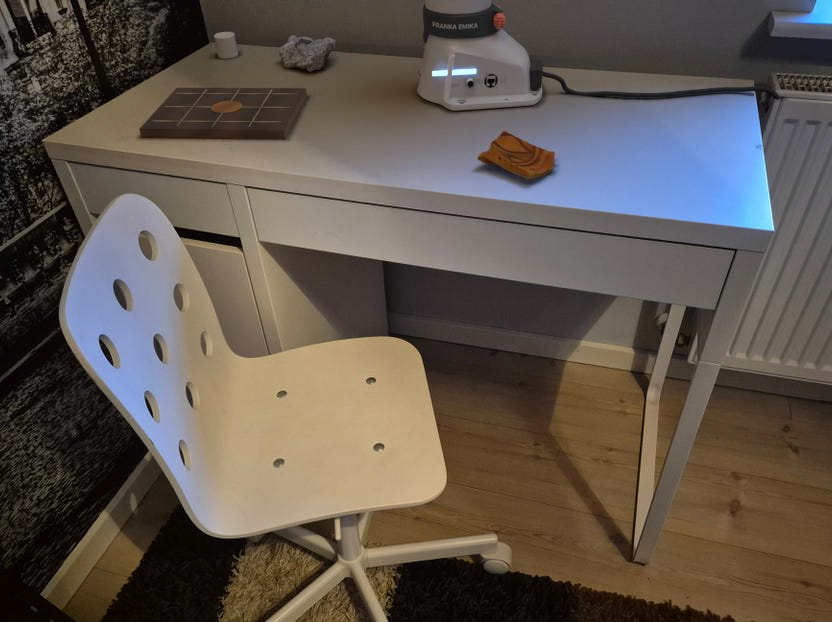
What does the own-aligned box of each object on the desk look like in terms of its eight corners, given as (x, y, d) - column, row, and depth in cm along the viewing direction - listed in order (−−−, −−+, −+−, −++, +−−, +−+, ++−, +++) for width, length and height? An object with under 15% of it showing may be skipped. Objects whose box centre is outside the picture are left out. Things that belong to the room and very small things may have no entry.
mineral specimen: (317, 79, 128) (266, 66, 132) (347, 64, 136) (298, 51, 139) (316, 47, 124) (264, 34, 128) (347, 33, 132) (297, 21, 135)
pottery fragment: (499, 128, 101) (562, 129, 97) (502, 156, 104) (564, 159, 100) (470, 156, 95) (537, 159, 90) (475, 186, 98) (539, 190, 93)
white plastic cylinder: (241, 51, 140) (237, 31, 137) (235, 58, 137) (231, 38, 134) (221, 51, 140) (217, 31, 138) (215, 58, 137) (211, 38, 134)
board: (307, 96, 121) (305, 87, 120) (285, 139, 108) (283, 129, 107) (178, 95, 123) (176, 86, 122) (141, 137, 109) (138, 128, 108)
